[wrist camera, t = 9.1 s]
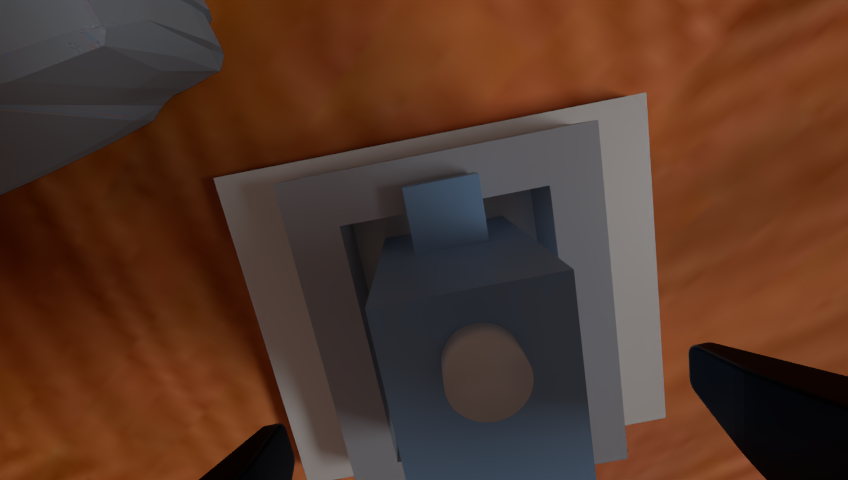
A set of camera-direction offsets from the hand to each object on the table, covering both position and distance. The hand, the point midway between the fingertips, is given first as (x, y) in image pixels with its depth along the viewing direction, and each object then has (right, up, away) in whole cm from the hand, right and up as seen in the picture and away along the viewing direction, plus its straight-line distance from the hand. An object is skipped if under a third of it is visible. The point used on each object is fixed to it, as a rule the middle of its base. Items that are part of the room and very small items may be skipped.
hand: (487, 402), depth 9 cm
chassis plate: (0, +1, +6) cm, 7 cm away
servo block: (0, +1, +5) cm, 5 cm away
